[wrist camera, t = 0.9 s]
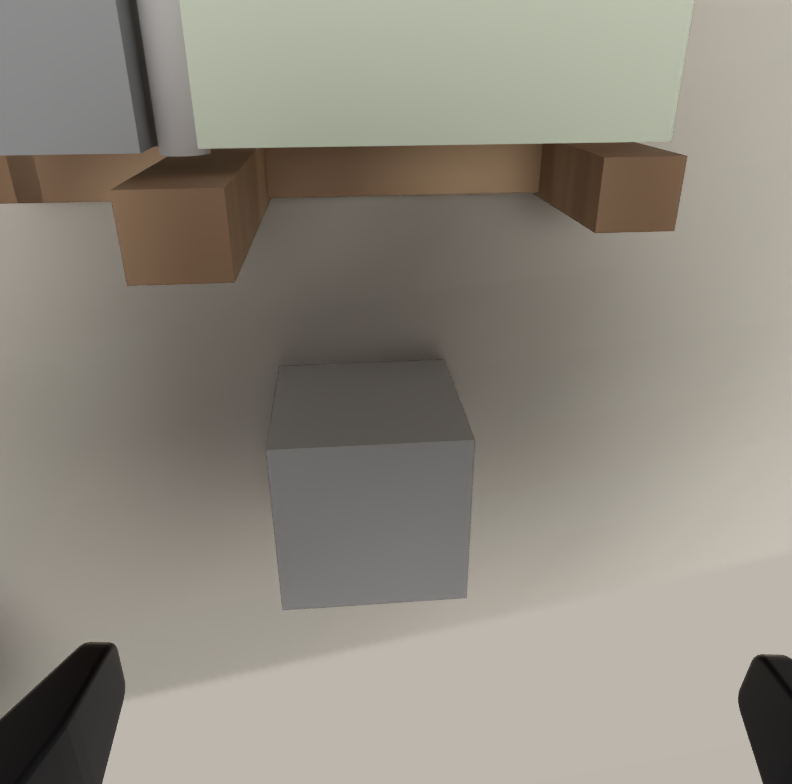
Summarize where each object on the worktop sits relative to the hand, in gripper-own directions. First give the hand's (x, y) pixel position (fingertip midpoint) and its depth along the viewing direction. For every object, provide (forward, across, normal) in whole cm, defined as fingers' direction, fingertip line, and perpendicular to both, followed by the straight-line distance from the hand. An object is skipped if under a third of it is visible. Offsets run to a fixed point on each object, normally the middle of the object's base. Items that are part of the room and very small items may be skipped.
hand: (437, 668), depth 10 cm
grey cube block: (+9, +1, +4) cm, 10 cm away
